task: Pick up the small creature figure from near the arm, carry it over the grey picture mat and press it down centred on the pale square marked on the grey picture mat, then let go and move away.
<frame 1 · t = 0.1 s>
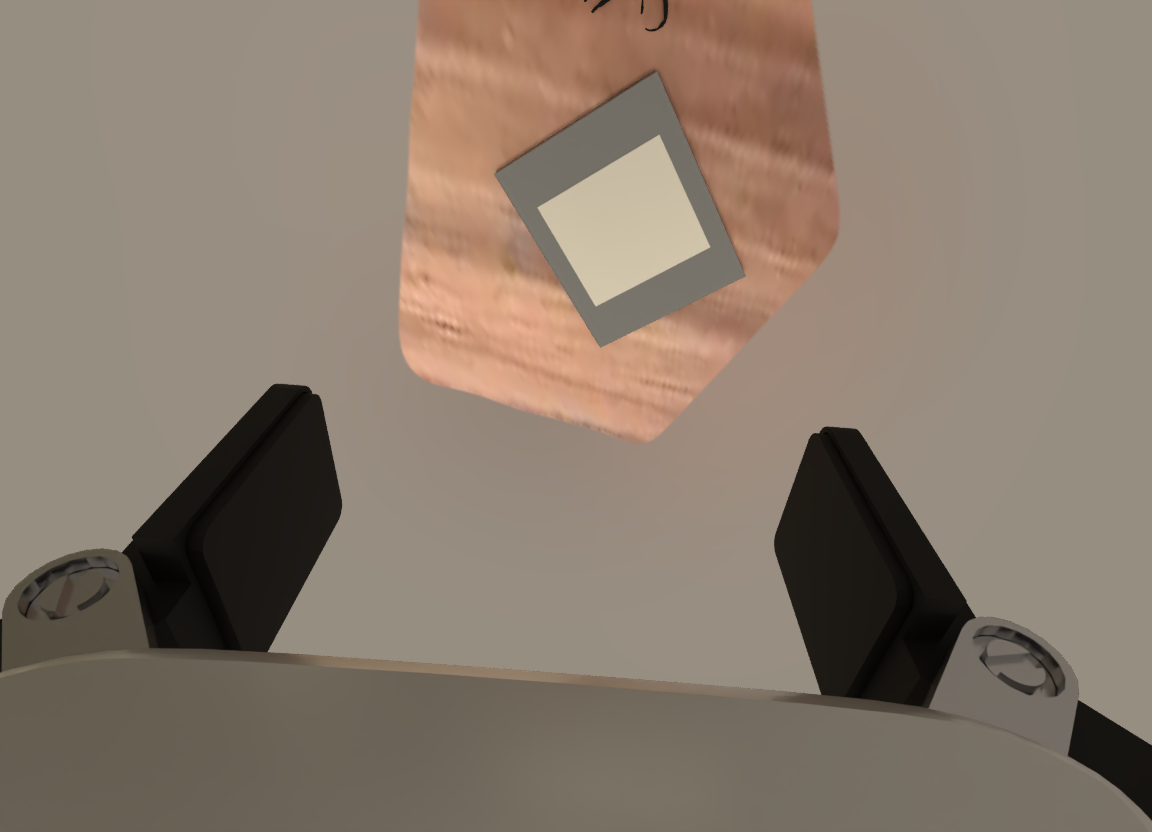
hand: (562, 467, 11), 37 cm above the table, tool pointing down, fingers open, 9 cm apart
grey picture mat: (624, 222, 45), on the table
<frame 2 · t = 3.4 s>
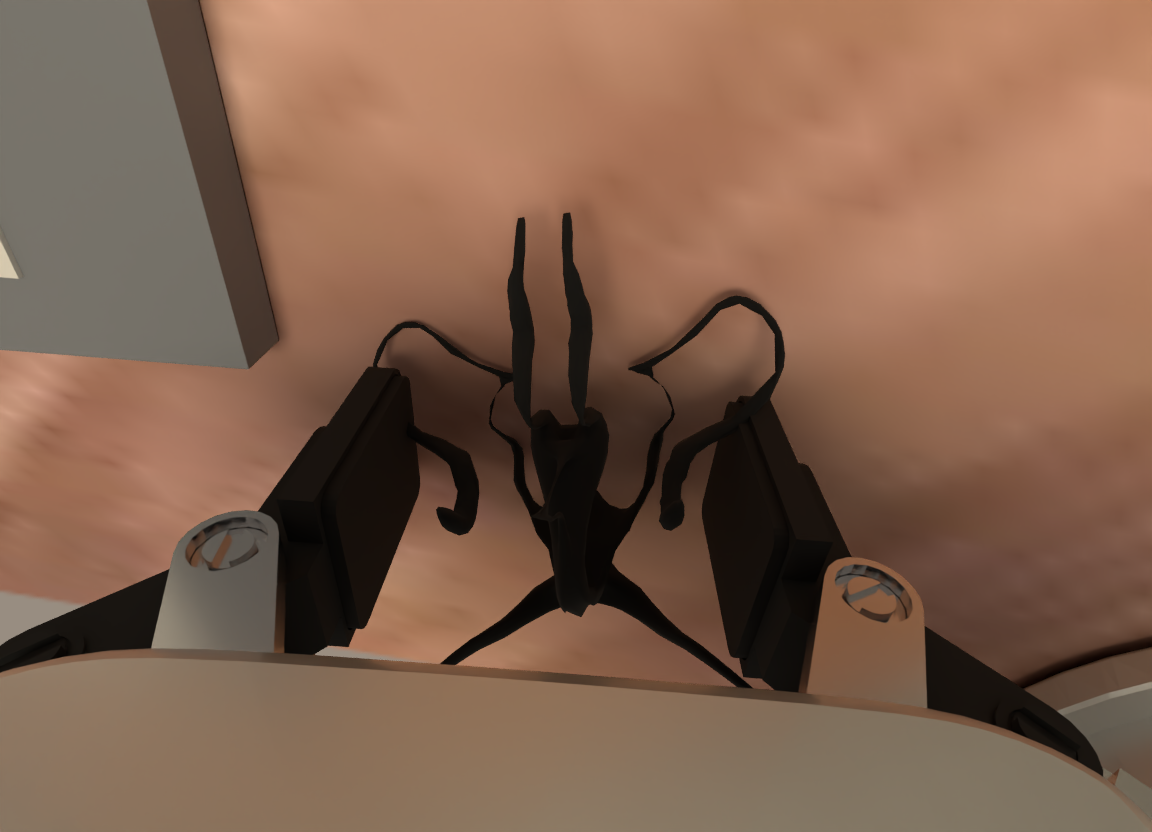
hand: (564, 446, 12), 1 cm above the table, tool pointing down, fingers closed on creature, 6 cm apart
creature: (576, 379, 12), on the table, touching gripper
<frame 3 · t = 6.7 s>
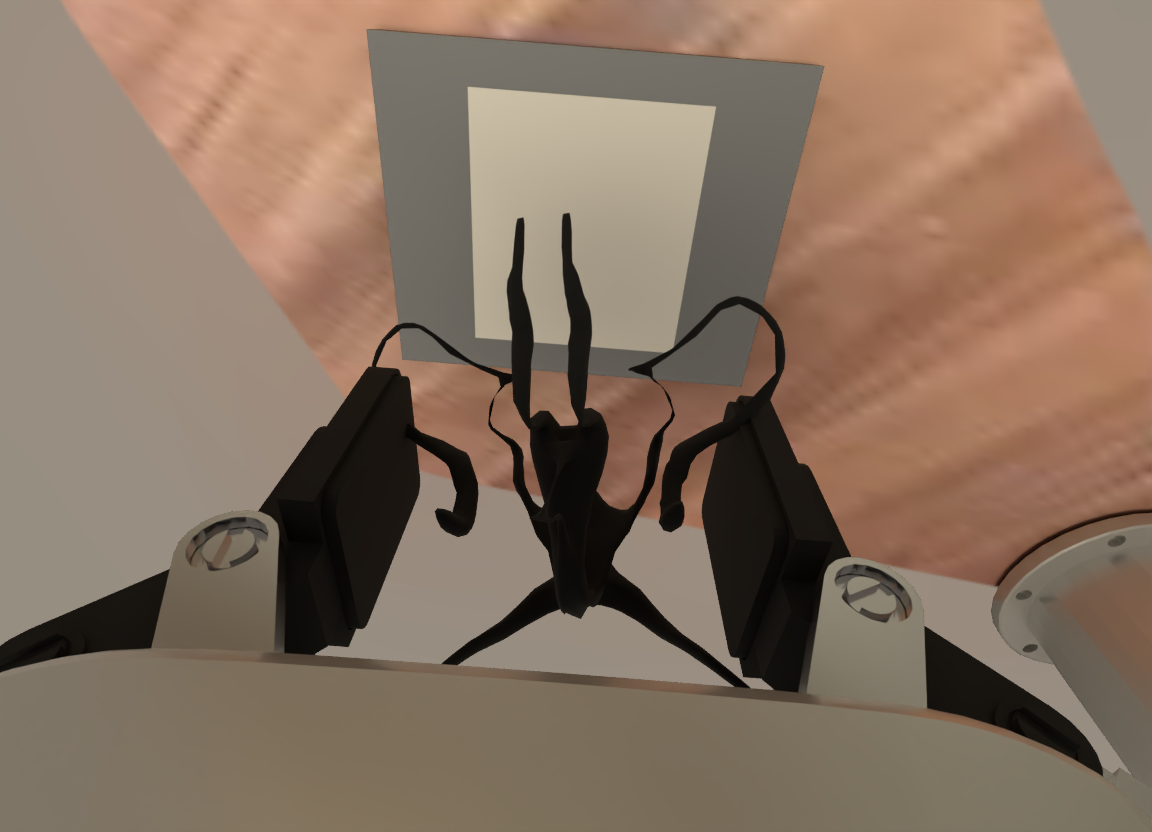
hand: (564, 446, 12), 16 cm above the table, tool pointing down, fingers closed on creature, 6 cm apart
grey picture mat: (582, 226, 25), on the table
creature: (576, 380, 12), point 15 cm above the table, touching gripper
when the fingers open (2 cm above the table, at t = 9.7 s): creature stays where it is, resting on grey picture mat.
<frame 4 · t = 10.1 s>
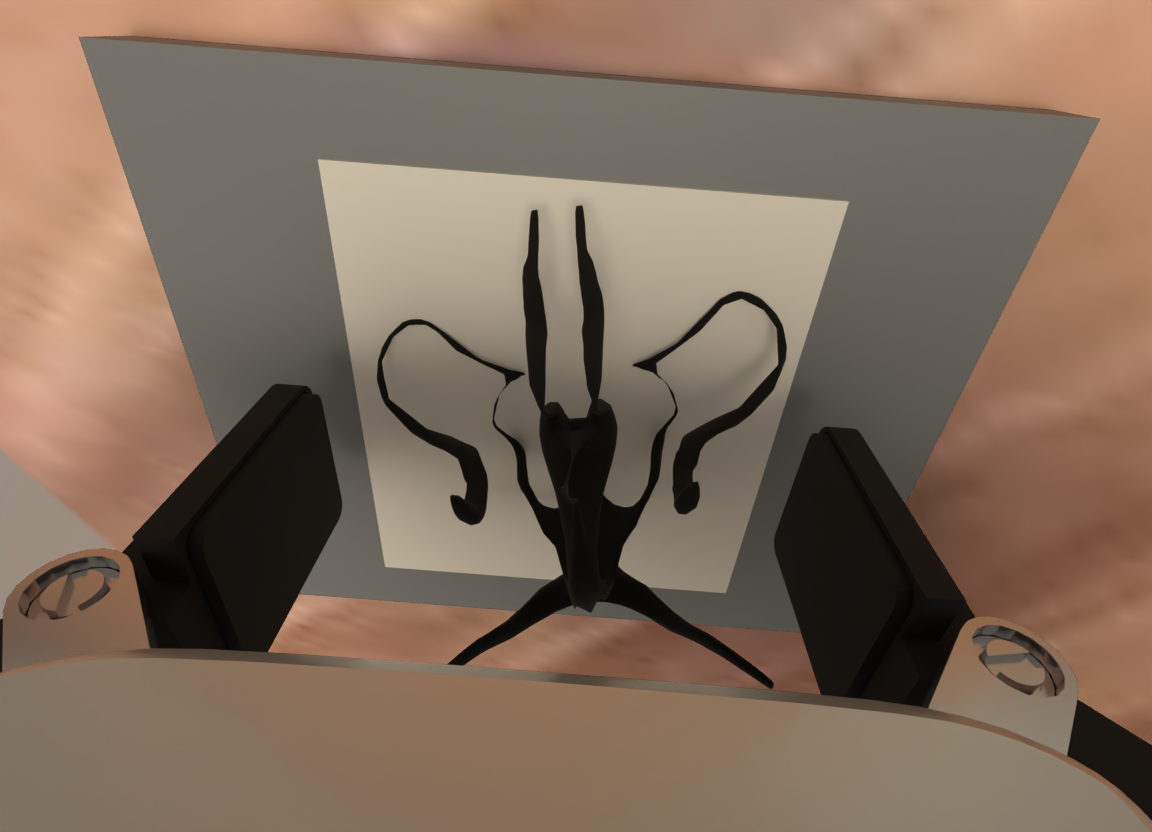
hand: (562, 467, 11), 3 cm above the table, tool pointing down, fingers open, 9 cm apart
grey picture mat: (569, 392, 14), on the table
creature: (580, 378, 12), point 1 cm above the table, touching grey picture mat
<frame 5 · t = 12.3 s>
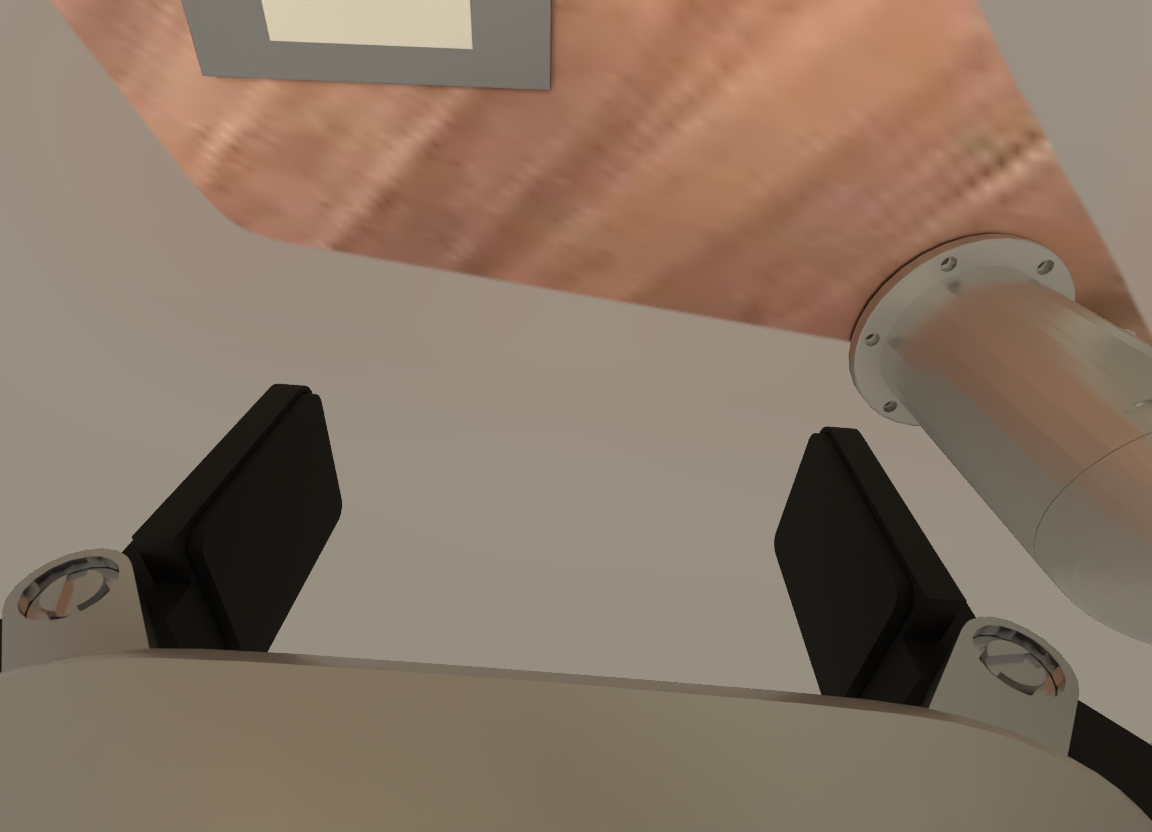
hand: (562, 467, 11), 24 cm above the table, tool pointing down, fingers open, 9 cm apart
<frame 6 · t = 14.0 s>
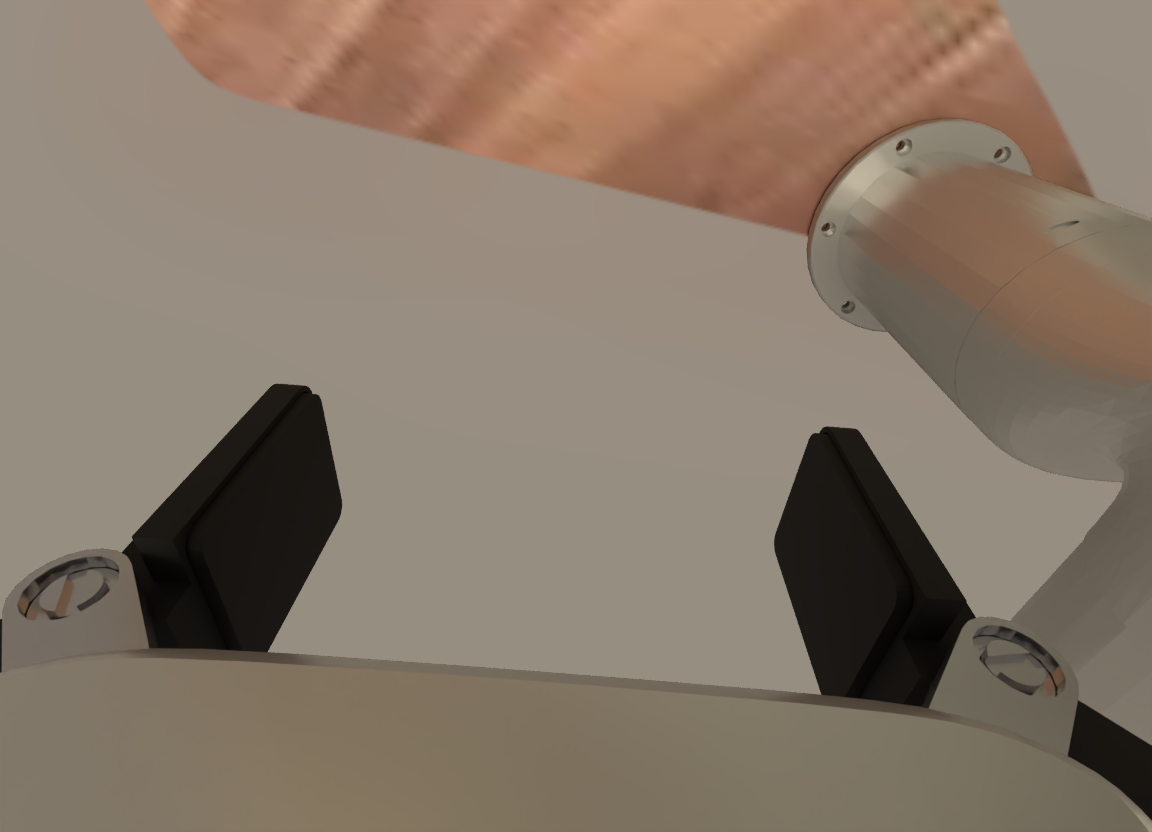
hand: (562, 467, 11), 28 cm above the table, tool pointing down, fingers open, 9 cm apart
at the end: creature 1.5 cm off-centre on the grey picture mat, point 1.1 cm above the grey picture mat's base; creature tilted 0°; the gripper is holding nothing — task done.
